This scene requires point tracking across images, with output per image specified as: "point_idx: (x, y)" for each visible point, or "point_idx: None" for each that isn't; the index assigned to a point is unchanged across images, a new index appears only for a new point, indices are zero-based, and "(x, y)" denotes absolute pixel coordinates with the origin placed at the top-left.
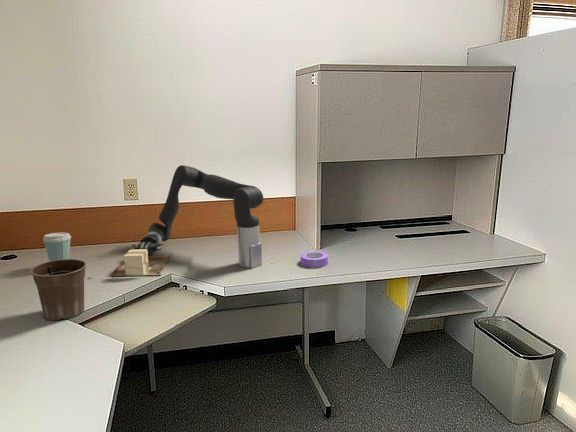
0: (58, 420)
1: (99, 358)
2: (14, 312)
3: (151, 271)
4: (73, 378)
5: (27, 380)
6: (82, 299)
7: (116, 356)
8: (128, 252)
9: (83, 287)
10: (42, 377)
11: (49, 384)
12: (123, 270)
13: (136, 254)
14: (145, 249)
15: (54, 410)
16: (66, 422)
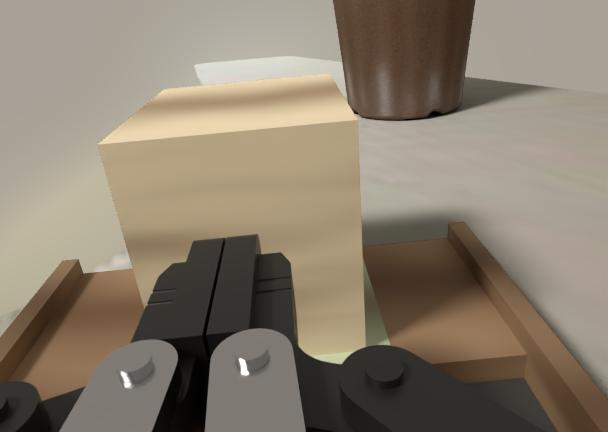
0: (240, 61)
1: (230, 80)
2: (563, 95)
3: (134, 297)
4: (252, 70)
5: (312, 64)
6: (343, 68)
7: (204, 83)
8: (325, 94)
9: (339, 32)
10: (295, 67)
11: (278, 66)
12: (422, 300)
13: (218, 89)
14: (124, 140)
15: (250, 62)
16: (231, 61)
